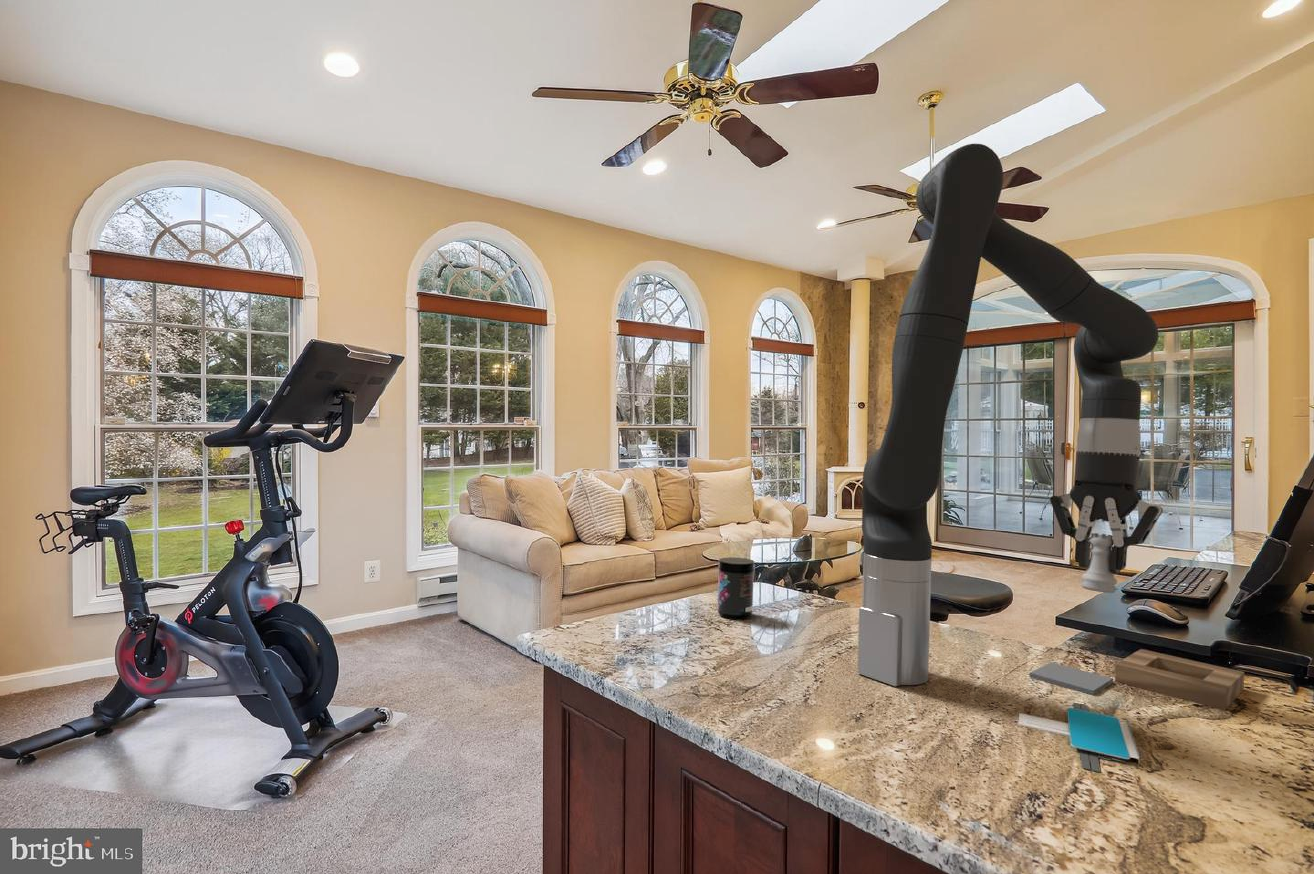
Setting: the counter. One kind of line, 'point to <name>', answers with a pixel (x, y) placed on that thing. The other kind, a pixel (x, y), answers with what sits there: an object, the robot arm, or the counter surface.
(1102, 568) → the rook chess piece
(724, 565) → the supplement container
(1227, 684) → the pocket block
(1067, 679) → the slate coaster
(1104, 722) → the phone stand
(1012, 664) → the counter surface
